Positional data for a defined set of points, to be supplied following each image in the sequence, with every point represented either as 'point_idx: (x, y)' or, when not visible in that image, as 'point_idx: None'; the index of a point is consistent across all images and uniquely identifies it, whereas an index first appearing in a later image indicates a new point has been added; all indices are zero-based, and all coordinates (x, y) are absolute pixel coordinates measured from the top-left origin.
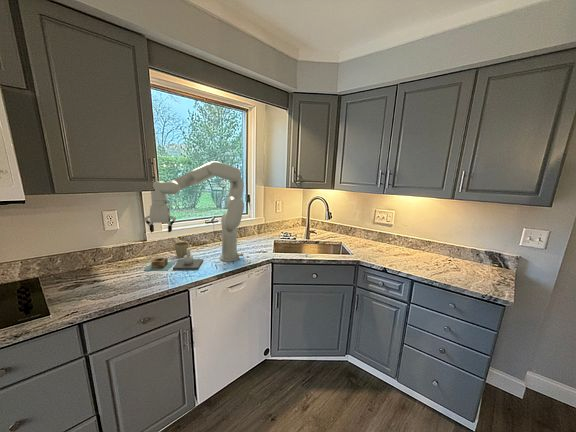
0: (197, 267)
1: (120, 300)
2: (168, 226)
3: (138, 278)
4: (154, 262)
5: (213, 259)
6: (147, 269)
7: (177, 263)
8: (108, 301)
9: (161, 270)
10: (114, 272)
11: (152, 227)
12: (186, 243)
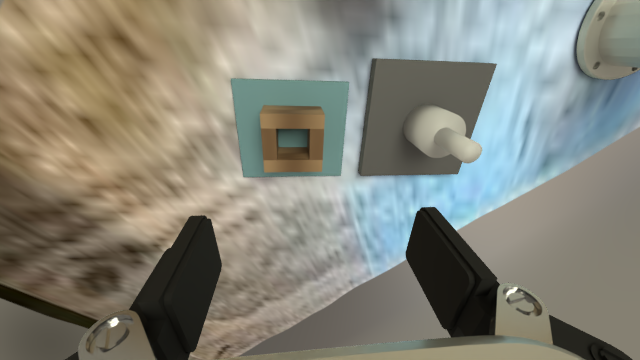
0: (455, 173)
1: (284, 318)
2: (449, 326)
3: (262, 232)
4: (279, 170)
5: (545, 31)
6: (255, 170)
7: (372, 126)
8: (261, 322)
9: (315, 175)
10: (131, 188)
11: (197, 301)
12: None
